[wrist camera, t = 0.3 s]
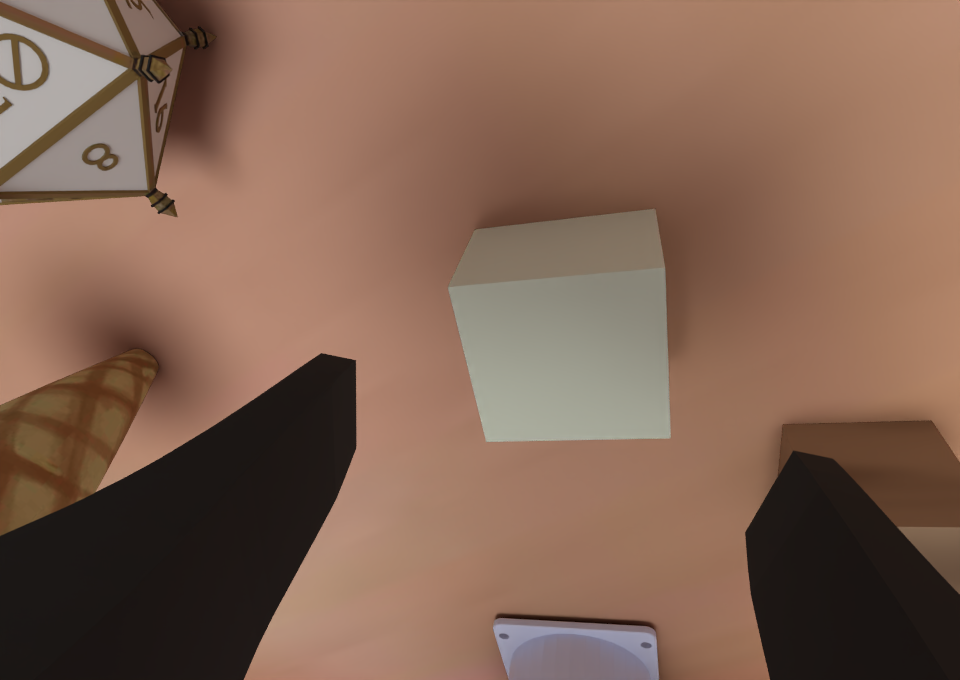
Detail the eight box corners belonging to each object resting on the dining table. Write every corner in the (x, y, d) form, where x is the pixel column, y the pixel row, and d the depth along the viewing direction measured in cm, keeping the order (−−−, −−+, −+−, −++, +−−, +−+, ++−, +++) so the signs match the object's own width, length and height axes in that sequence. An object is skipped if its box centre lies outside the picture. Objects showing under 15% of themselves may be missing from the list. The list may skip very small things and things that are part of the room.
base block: (660, 358, 20) (670, 438, 17) (504, 366, 22) (486, 441, 18) (654, 206, 17) (665, 267, 14) (475, 227, 19) (447, 287, 16)
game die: (183, -49, 19) (-32, -443, 9) (295, 196, 20) (206, 75, 10) (-102, 45, 18) (-695, -290, 8) (29, 301, 19) (-367, 281, 9)
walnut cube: (905, 510, 22) (965, 625, 18) (774, 510, 23) (805, 617, 19) (930, 418, 20) (1004, 528, 16) (782, 422, 21) (820, 525, 17)
